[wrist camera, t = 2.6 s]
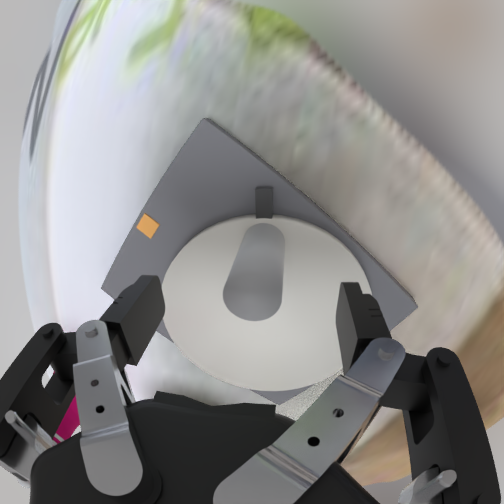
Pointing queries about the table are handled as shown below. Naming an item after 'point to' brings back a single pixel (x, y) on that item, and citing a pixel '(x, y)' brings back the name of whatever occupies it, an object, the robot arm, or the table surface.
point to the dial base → (225, 207)
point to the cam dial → (260, 299)
